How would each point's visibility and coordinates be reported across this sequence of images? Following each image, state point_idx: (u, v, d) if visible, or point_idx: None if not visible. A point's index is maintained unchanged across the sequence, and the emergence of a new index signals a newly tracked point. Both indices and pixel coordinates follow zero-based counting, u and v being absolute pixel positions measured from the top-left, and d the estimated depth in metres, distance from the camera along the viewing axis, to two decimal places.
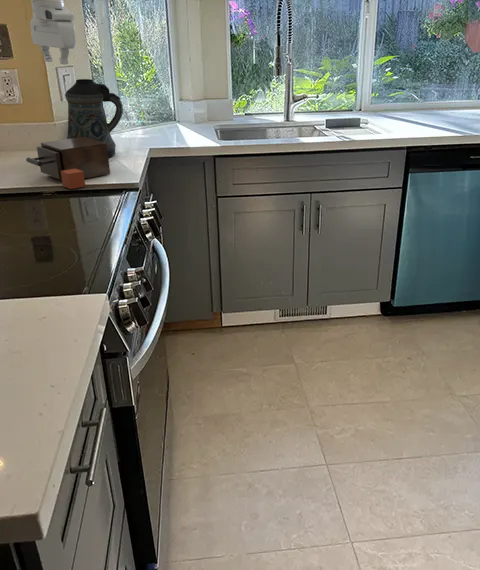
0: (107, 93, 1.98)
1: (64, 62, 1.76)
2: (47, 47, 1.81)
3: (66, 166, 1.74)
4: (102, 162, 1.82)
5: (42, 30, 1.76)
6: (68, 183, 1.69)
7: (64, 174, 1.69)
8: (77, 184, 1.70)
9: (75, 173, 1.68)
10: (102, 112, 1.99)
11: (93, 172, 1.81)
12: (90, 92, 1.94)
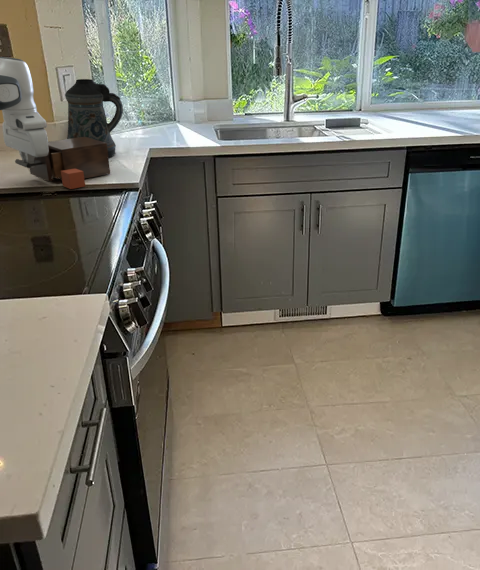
0: (107, 93, 1.98)
1: None
2: None
3: (66, 166, 1.74)
4: (102, 162, 1.82)
5: (14, 135, 1.69)
6: (68, 183, 1.69)
7: (64, 174, 1.69)
8: (77, 184, 1.70)
9: (75, 173, 1.68)
10: (102, 112, 1.99)
11: (93, 172, 1.81)
12: (90, 92, 1.94)
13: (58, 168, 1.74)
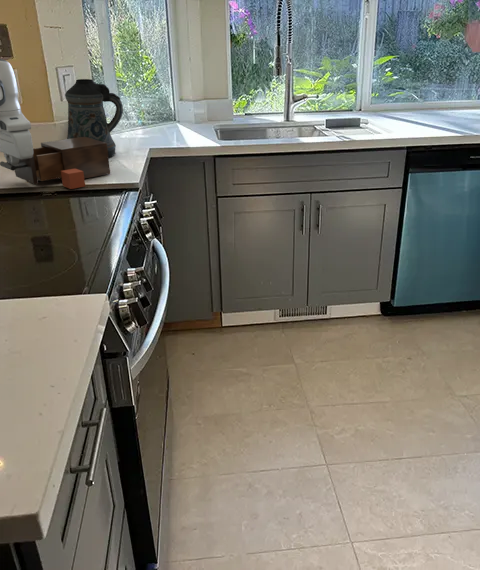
0: (107, 93, 1.98)
1: None
2: None
3: (66, 166, 1.74)
4: (102, 162, 1.82)
5: None
6: (68, 183, 1.69)
7: (64, 174, 1.69)
8: (77, 184, 1.70)
9: (75, 173, 1.68)
10: (102, 112, 1.99)
11: (93, 172, 1.81)
12: (90, 92, 1.94)
13: (44, 170, 1.71)
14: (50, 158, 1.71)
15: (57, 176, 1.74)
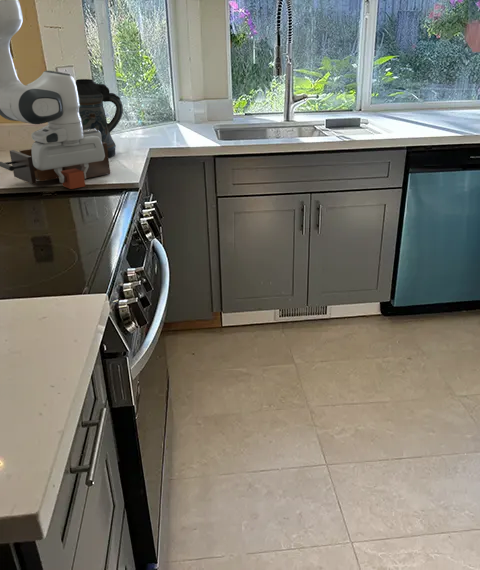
0: (107, 93, 1.98)
1: (60, 180, 1.68)
2: (83, 165, 1.71)
3: None
4: (102, 162, 1.82)
5: None
6: (68, 183, 1.69)
7: (64, 174, 1.69)
8: (77, 184, 1.70)
9: (75, 173, 1.68)
10: (102, 112, 1.99)
11: (93, 172, 1.81)
12: (90, 92, 1.94)
13: None
14: None
15: (55, 177, 1.74)
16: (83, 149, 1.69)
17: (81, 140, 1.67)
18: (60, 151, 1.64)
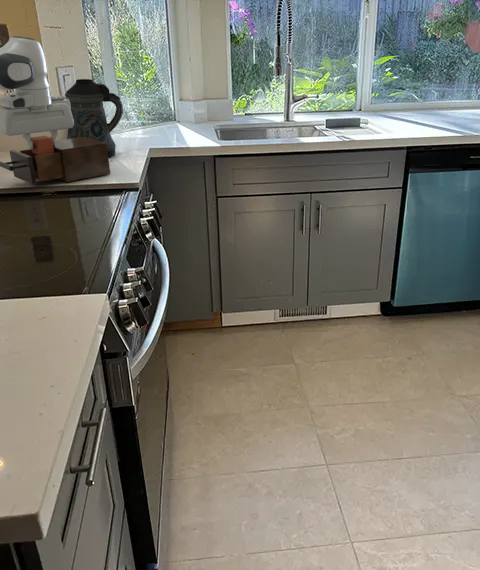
0: (107, 93, 1.98)
1: (29, 146, 1.70)
2: (51, 132, 1.73)
3: (66, 166, 1.74)
4: (102, 162, 1.82)
5: None
6: (37, 149, 1.71)
7: (33, 140, 1.71)
8: (46, 151, 1.72)
9: (44, 139, 1.71)
10: (102, 112, 1.99)
11: (93, 172, 1.81)
12: (90, 92, 1.94)
13: (42, 170, 1.70)
14: (48, 158, 1.70)
15: (55, 177, 1.74)
16: (51, 116, 1.71)
17: (49, 107, 1.69)
18: (27, 117, 1.66)
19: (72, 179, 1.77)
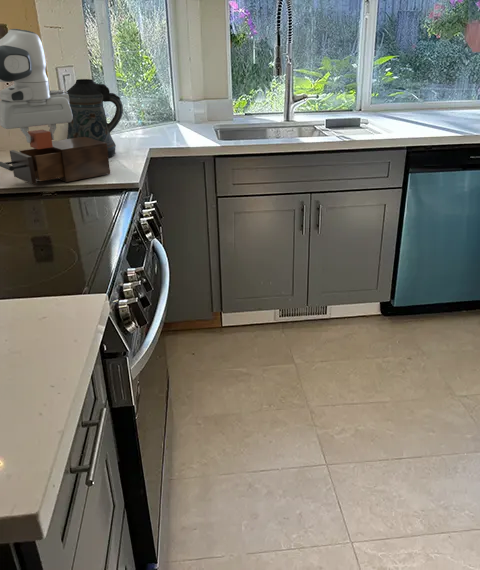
0: (107, 93, 1.98)
1: (27, 140, 1.70)
2: (50, 126, 1.73)
3: (66, 166, 1.74)
4: (102, 162, 1.82)
5: None
6: (35, 143, 1.70)
7: (31, 134, 1.70)
8: (44, 145, 1.71)
9: (42, 133, 1.70)
10: (102, 112, 1.99)
11: (93, 172, 1.81)
12: (90, 92, 1.94)
13: (42, 170, 1.70)
14: (48, 158, 1.70)
15: (55, 177, 1.74)
16: (50, 109, 1.70)
17: (48, 100, 1.69)
18: (26, 111, 1.65)
19: (72, 179, 1.77)
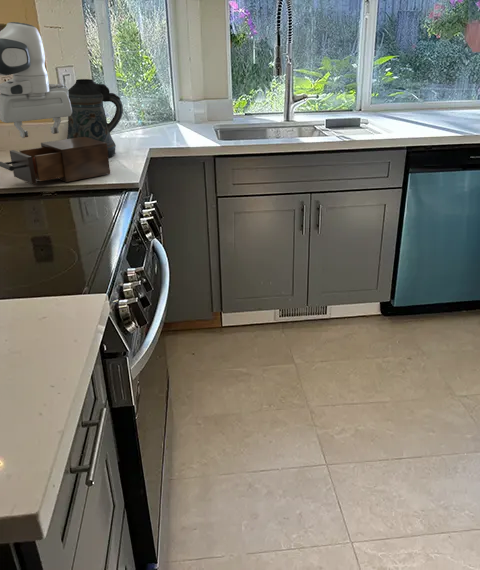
0: (107, 93, 1.98)
1: (21, 135, 1.68)
2: (55, 119, 1.73)
3: (66, 166, 1.74)
4: (102, 162, 1.82)
5: None
6: None
7: None
8: None
9: None
10: (102, 112, 1.99)
11: (93, 172, 1.81)
12: (90, 92, 1.94)
13: (42, 170, 1.70)
14: (48, 158, 1.70)
15: (55, 177, 1.74)
16: (49, 103, 1.69)
17: (47, 94, 1.68)
18: (25, 104, 1.64)
19: (72, 179, 1.77)
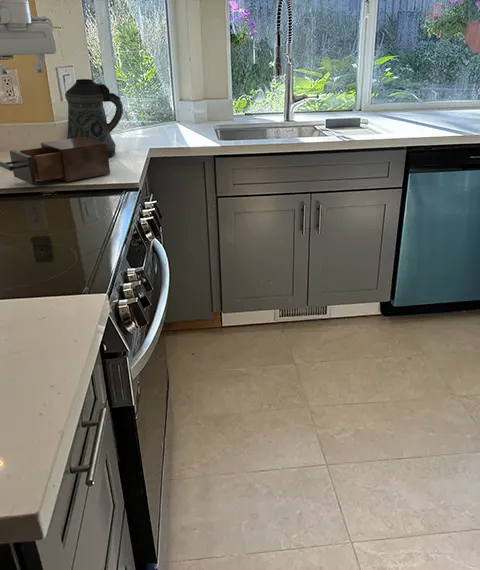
0: (107, 93, 1.98)
1: None
2: (38, 56, 1.57)
3: (66, 166, 1.74)
4: (102, 162, 1.82)
5: None
6: None
7: None
8: None
9: None
10: (102, 112, 1.99)
11: (93, 172, 1.81)
12: (90, 92, 1.94)
13: (42, 170, 1.70)
14: (48, 158, 1.70)
15: (55, 177, 1.74)
16: (31, 37, 1.53)
17: (29, 26, 1.52)
18: (4, 36, 1.48)
19: (72, 179, 1.77)
